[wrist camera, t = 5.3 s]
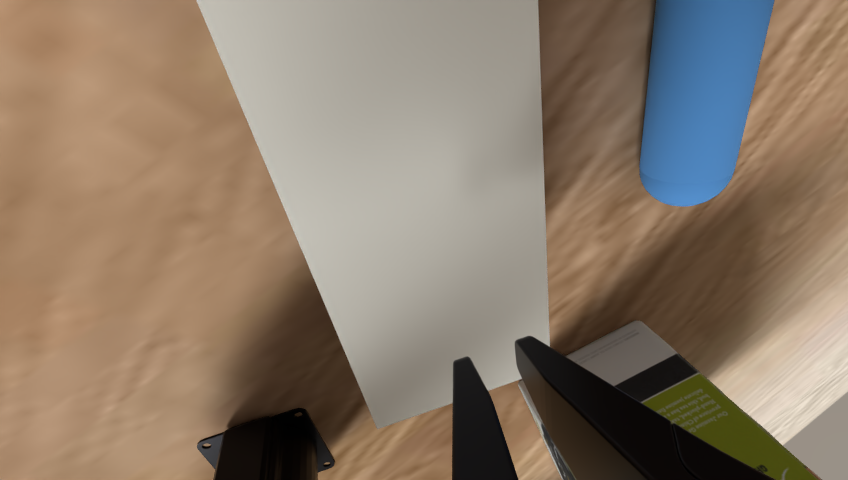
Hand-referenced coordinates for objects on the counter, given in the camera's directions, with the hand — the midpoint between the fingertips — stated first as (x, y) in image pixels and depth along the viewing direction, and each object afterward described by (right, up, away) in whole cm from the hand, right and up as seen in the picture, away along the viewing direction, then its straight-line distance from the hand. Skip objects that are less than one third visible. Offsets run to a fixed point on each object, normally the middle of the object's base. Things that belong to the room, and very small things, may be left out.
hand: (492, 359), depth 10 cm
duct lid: (-2, +6, +3) cm, 7 cm away
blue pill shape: (+10, +13, +9) cm, 18 cm away
